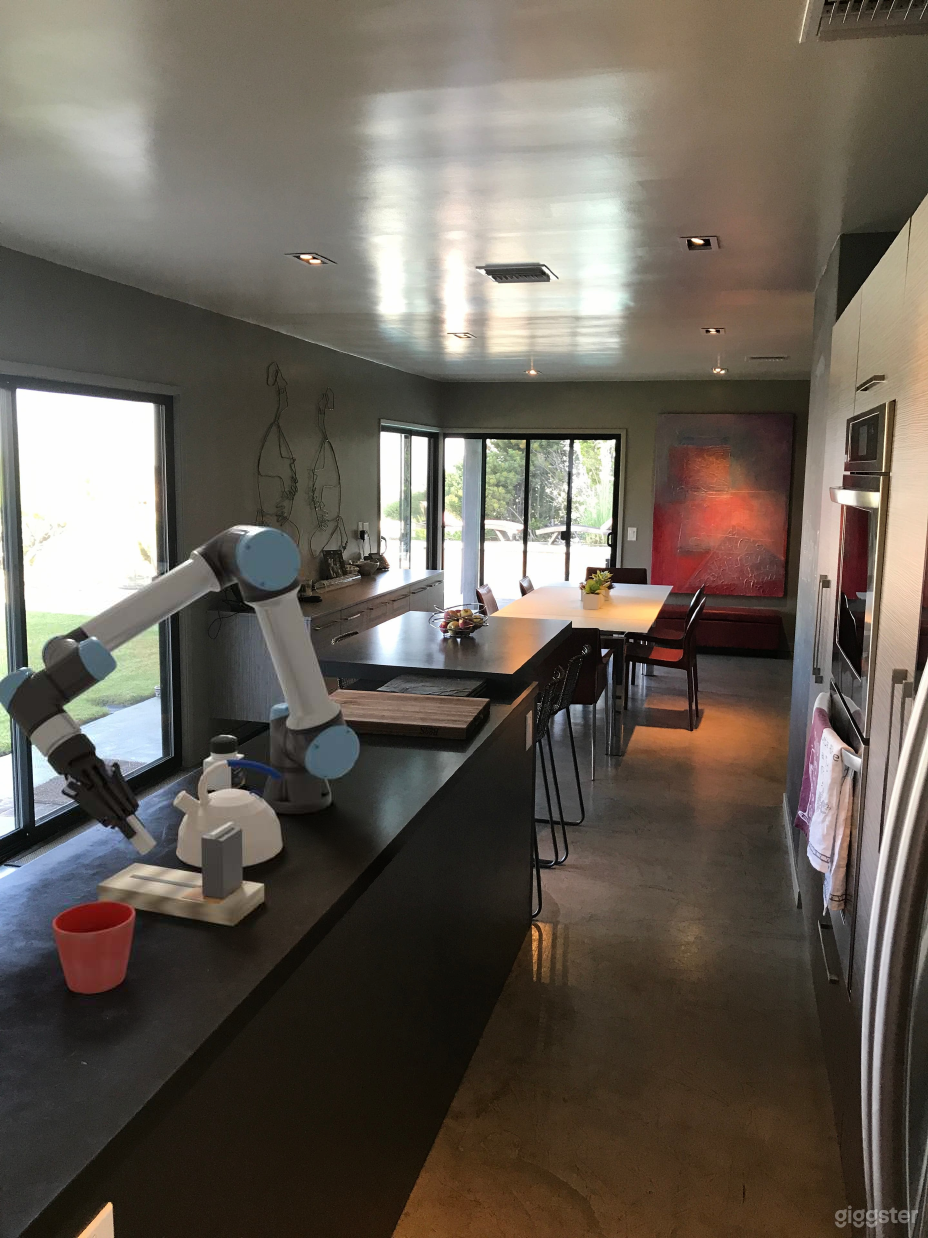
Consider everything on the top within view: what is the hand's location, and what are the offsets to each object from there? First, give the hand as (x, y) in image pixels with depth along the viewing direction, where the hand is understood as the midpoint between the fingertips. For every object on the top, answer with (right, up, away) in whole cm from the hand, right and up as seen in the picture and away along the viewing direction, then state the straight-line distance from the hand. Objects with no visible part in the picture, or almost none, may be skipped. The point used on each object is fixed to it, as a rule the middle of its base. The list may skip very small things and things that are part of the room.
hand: (149, 849), depth 161 cm
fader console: (+6, -9, -1) cm, 10 cm away
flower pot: (+1, -13, -26) cm, 29 cm away
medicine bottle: (-2, 0, +60) cm, 60 cm away
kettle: (+8, -6, +23) cm, 25 cm away
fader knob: (+13, -6, -4) cm, 15 cm away
